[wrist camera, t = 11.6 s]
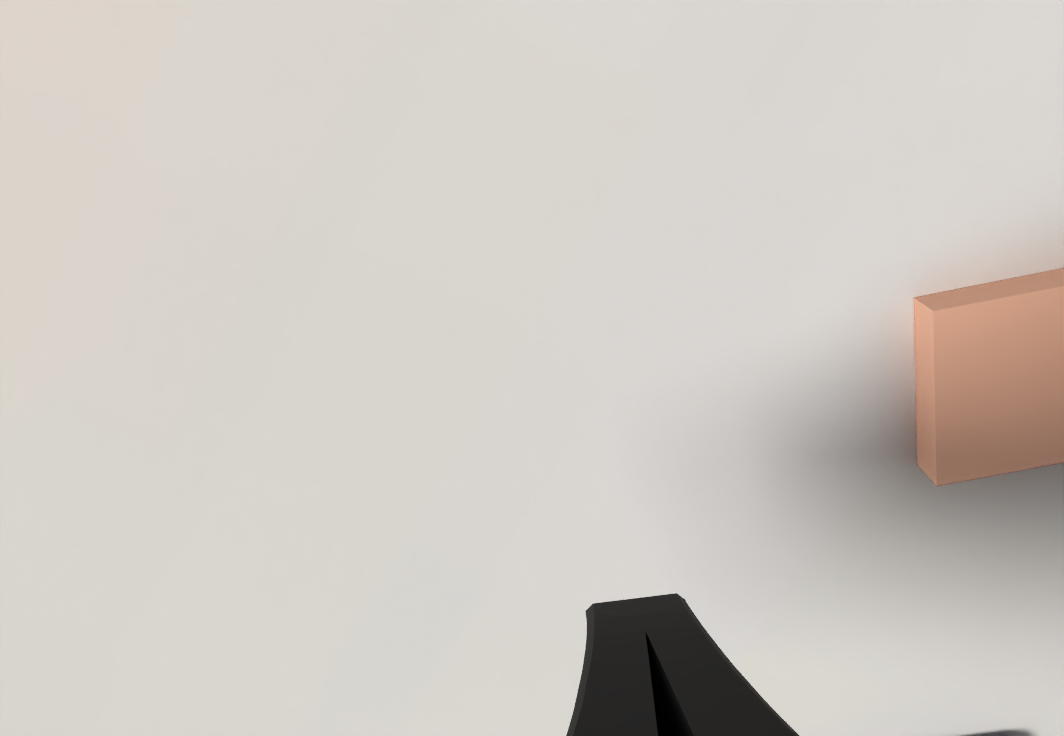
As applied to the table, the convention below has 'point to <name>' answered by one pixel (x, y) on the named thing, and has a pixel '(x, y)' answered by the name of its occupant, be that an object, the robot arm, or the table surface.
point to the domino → (990, 378)
